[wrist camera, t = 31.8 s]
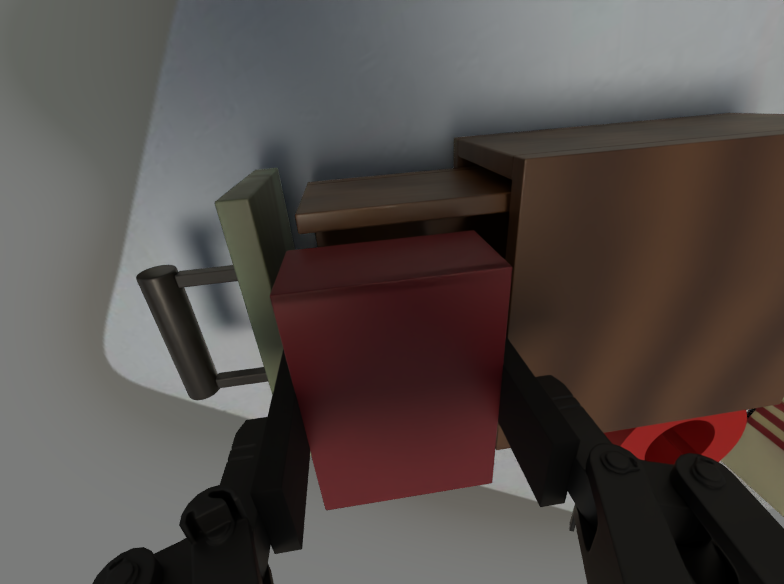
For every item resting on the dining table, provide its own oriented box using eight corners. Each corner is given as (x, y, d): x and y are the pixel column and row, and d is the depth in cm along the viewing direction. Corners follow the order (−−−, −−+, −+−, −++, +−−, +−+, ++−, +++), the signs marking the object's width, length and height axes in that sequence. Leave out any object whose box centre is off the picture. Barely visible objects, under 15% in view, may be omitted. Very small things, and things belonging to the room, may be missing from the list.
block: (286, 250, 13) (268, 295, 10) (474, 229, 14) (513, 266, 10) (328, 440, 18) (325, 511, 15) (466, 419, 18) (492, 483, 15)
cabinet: (451, 351, 27) (496, 450, 19) (453, 137, 20) (524, 158, 12) (659, 322, 28) (780, 404, 21) (729, 112, 21) (951, 118, 14)
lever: (540, 392, 30) (588, 461, 24) (633, 314, 28) (712, 371, 22) (643, 466, 37) (700, 534, 31) (726, 410, 35) (804, 472, 29)
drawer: (229, 383, 25) (193, 475, 19) (153, 179, 18) (60, 216, 12) (519, 343, 26) (573, 415, 20) (543, 142, 20) (632, 160, 14)
